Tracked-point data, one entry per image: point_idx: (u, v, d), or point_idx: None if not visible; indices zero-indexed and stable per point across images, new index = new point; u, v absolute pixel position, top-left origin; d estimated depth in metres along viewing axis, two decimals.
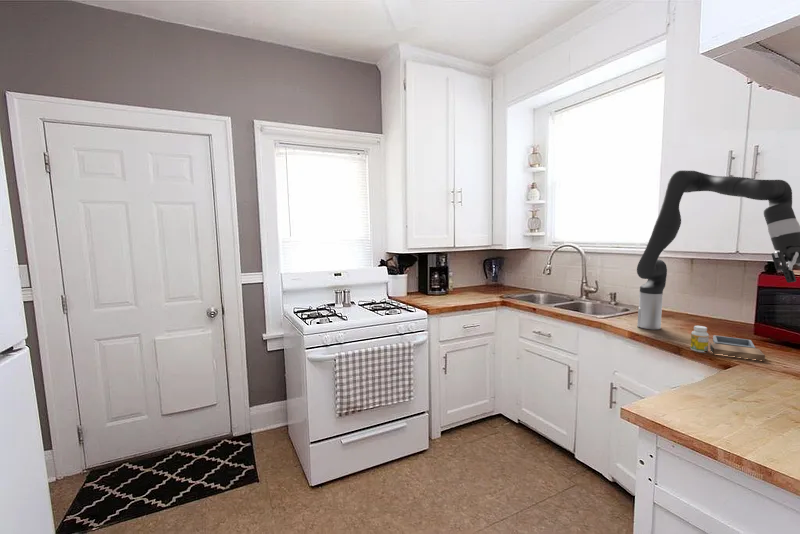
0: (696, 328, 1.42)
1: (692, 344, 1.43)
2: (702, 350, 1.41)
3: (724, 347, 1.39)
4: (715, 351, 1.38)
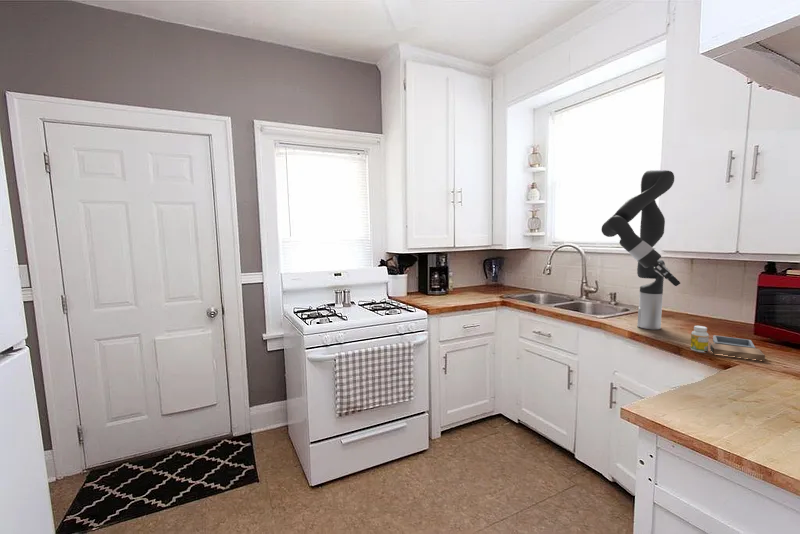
0: (696, 328, 1.42)
1: (692, 344, 1.43)
2: (702, 350, 1.41)
3: (724, 347, 1.39)
4: (715, 351, 1.38)
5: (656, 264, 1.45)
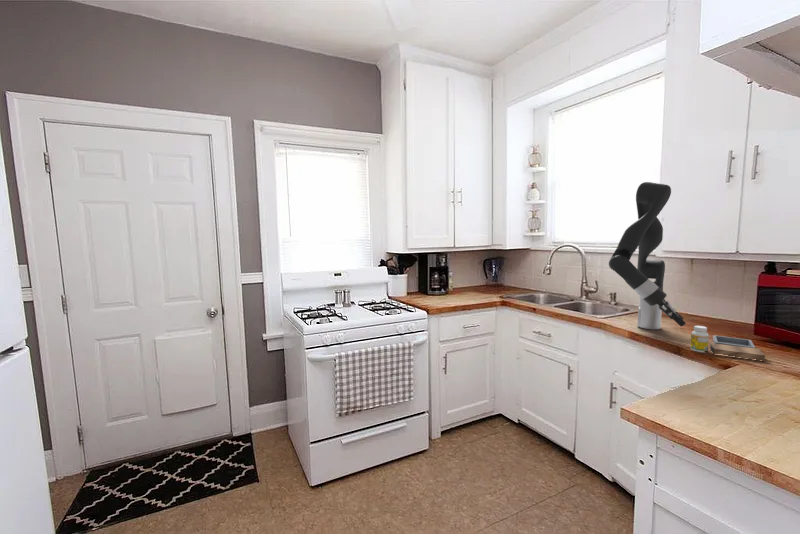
0: (696, 328, 1.42)
1: (692, 344, 1.43)
2: (702, 350, 1.41)
3: (724, 347, 1.39)
4: (715, 351, 1.38)
5: (661, 303, 1.46)
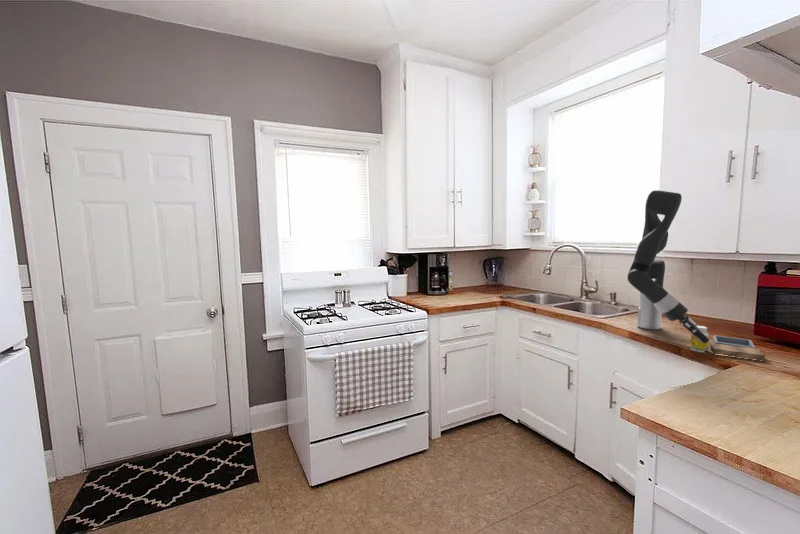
0: None
1: (692, 344, 1.43)
2: (702, 350, 1.41)
3: (724, 347, 1.39)
4: (715, 351, 1.38)
5: (682, 319, 1.42)
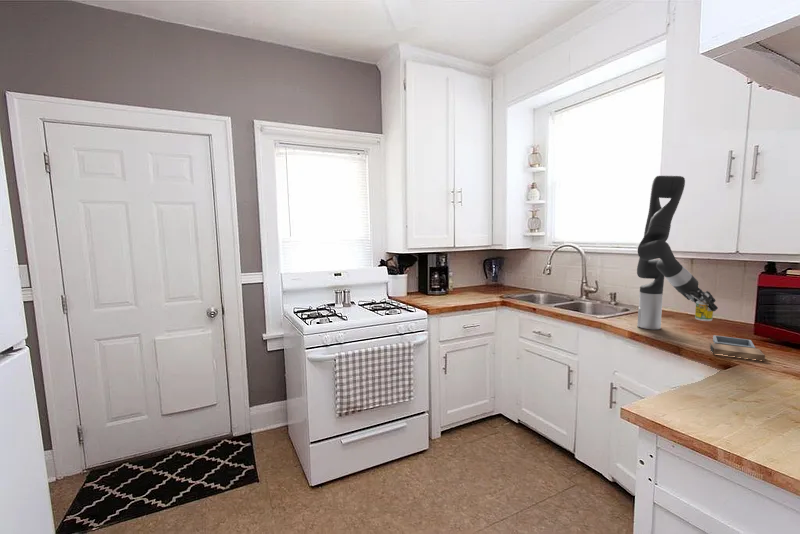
0: None
1: (700, 314, 1.43)
2: (710, 319, 1.42)
3: (724, 347, 1.39)
4: (715, 351, 1.38)
5: (698, 289, 1.40)
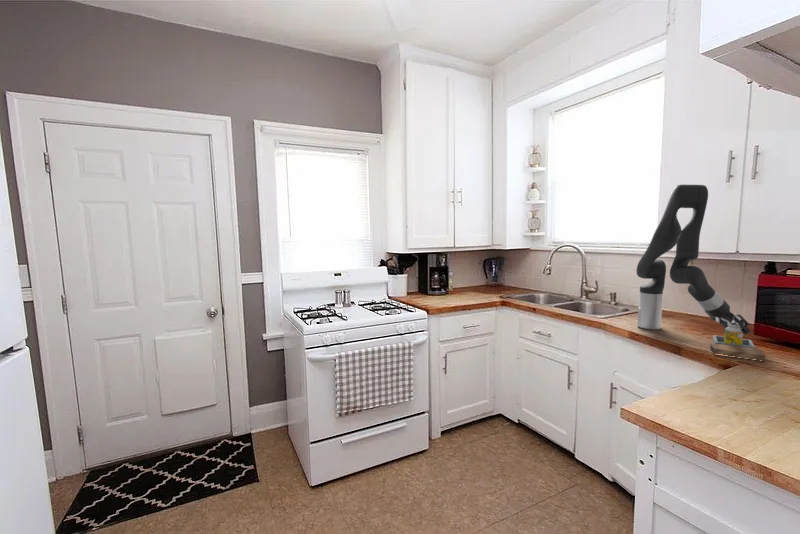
0: (734, 325, 1.44)
1: (731, 341, 1.45)
2: None
3: (724, 347, 1.39)
4: (715, 351, 1.38)
5: (730, 314, 1.41)
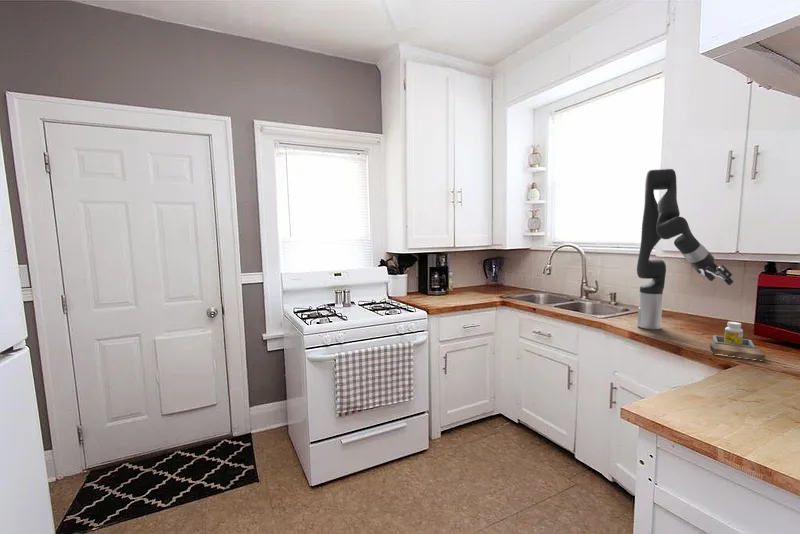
0: (734, 325, 1.44)
1: (731, 341, 1.45)
2: None
3: (724, 347, 1.39)
4: (715, 351, 1.38)
5: (714, 265, 1.46)
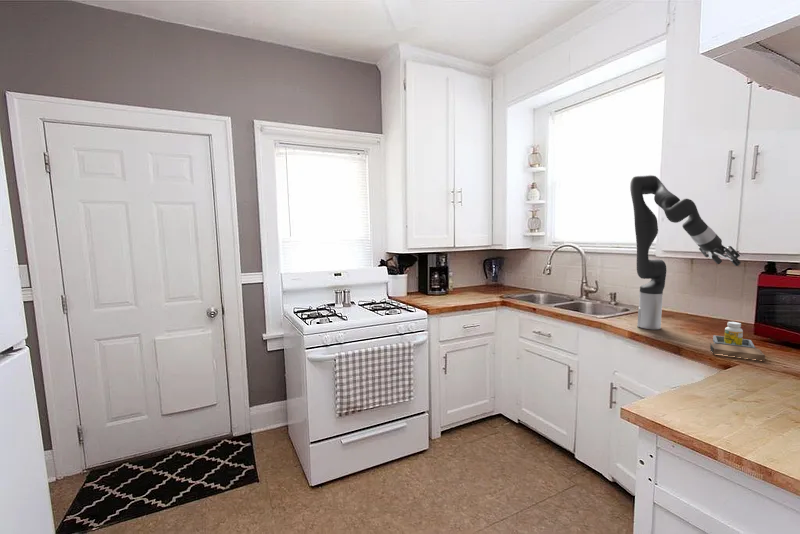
0: (734, 325, 1.44)
1: (731, 341, 1.45)
2: None
3: (724, 347, 1.39)
4: (715, 351, 1.38)
5: (721, 246, 1.51)
